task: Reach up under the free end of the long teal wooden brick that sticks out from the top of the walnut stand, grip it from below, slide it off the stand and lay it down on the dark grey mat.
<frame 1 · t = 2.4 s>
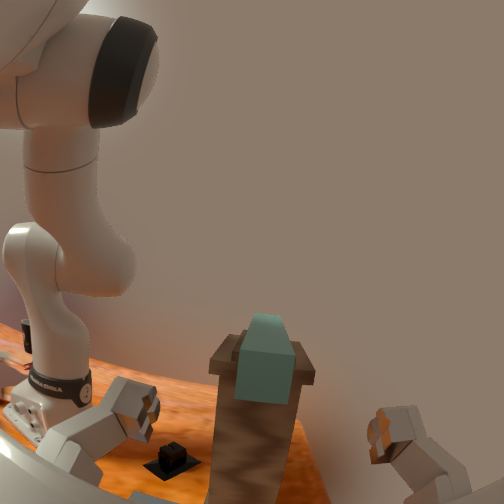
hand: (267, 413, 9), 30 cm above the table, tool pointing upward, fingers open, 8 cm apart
coffee mug: (32, 352, 68), on the table
black block on plate: (172, 467, 38), on the table
teal brick: (263, 359, 28), point 26 cm above the table, touching walnut stand
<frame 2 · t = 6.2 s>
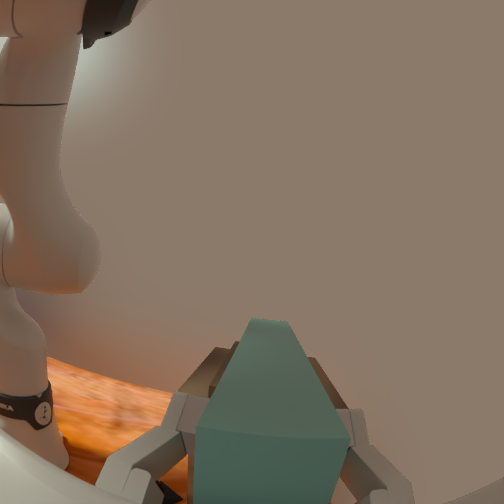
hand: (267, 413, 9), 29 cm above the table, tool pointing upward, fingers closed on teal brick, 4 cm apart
black block on plate: (147, 501, 26), on the table
teal brick: (263, 396, 16), point 26 cm above the table, touching gripper, walnut stand
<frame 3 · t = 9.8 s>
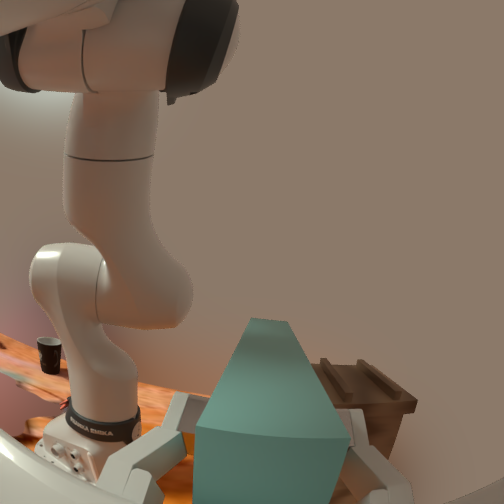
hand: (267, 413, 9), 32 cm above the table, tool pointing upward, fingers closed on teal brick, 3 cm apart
coffee mug: (50, 372, 65), on the table
teal brick: (263, 396, 16), point 30 cm above the table, touching gripper
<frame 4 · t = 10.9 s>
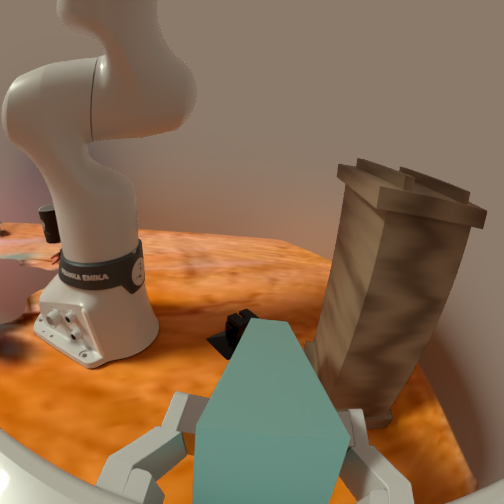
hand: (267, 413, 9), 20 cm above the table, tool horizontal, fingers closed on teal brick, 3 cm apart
coffee mug: (55, 241, 69), on the table
walnut stand: (342, 387, 33), on the table
black block on plate: (241, 341, 42), on the table
teal brick: (263, 395, 16), point 14 cm above the table, tilted 30°, touching gripper
when the fingers open (11 cm above the table, at t = 13.1 s): teal brick drops 5 cm, resting on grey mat.
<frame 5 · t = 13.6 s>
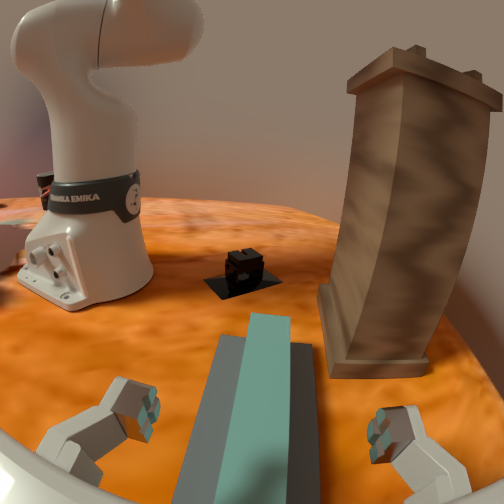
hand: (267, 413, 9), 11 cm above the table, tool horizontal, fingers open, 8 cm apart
coffee mug: (52, 209, 66), on the table
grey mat: (255, 439, 17), on the table
walnut stand: (364, 333, 29), on the table
black block on plate: (243, 285, 39), on the table
teal brick: (255, 442, 17), point 1 cm above the table, touching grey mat
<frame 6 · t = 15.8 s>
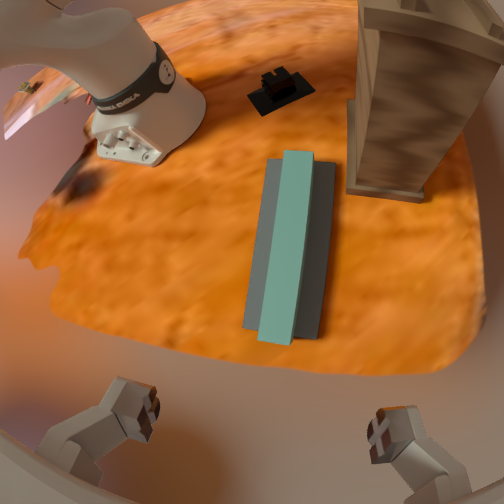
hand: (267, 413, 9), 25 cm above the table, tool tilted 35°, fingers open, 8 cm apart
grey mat: (292, 243, 35), on the table
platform: (32, 93, 67), on the table
walnut stand: (382, 150, 34), on the table
black block on plate: (281, 95, 40), on the table
teal brick: (291, 246, 34), point 1 cm above the table, touching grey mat
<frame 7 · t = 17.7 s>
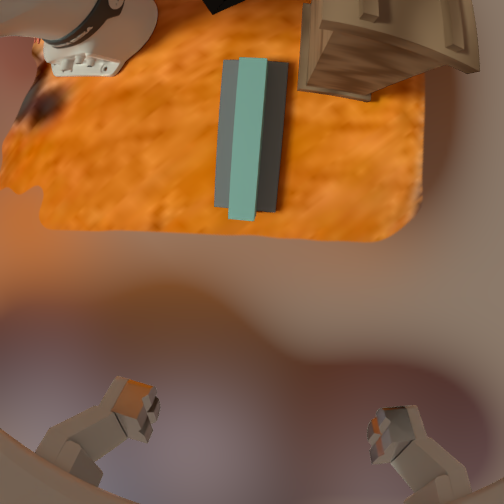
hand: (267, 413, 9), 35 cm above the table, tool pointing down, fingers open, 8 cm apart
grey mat: (250, 134, 38), on the table
walnut stand: (335, 51, 31), on the table
teal brick: (249, 137, 37), point 1 cm above the table, touching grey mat
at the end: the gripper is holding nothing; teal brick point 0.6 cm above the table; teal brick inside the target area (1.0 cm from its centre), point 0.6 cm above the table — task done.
